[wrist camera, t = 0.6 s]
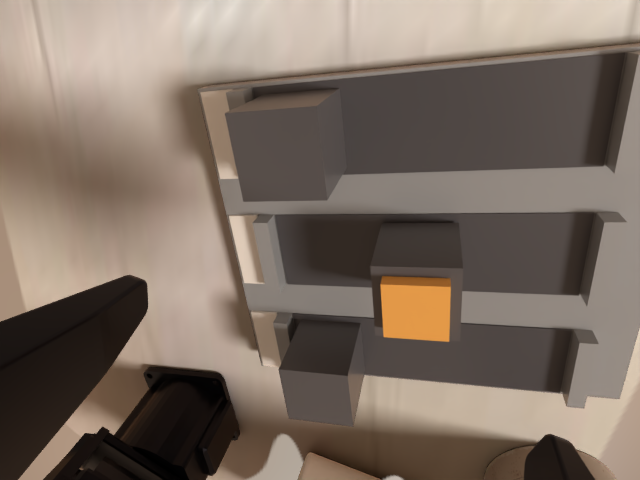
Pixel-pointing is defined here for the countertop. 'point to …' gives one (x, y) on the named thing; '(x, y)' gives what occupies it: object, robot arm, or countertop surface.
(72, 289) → the countertop surface
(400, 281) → the block
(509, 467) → the thermos bottle
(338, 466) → the mug
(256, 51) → the countertop surface
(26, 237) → the countertop surface
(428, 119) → the breaker panel
